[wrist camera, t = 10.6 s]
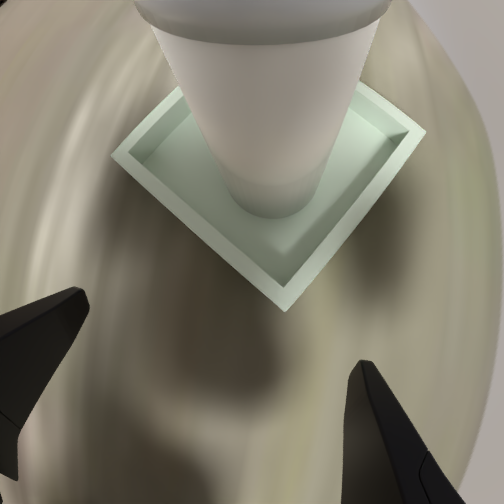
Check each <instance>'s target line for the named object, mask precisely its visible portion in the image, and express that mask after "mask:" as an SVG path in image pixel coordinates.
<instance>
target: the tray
mask: <svg viewBox="0 0 504 504" xmlns="http://www.w3.org/2000/svg"><path fill="white" fill-rule="evenodd" d="M425 133H426V131H425V130H424V129H422V128H421V127H420V126H419V125H418V124H416V123H415V122H414V121H413V120H412V119H410V118H409V117H408V116H407V115H405V114H404V113H403V112H402V111H400V110H399V109H398V108H396V107H395V106H394V105H393V104H391V103H390V102H389V101H387V100H386V99H385V98H383V97H382V96H381V95H379V94H378V93H376V92H375V91H374V90H372V89H371V88H369V87H368V86H367V85H365V84H364V83H362V82H361V81H359V80H358V83H357V86H356V89H355V91H354V94H353V97H352V99H351V102H350V105H349V107H348V110H347V113H346V115H345V118H344V121H343V123H342V126H341V129H340V131H339V134H338V137H337V139H336V142H335V144H334V147H333V149H332V152H331V155H330V157H329V160H328V162H327V165H326V167H325V170H324V172H323V175H322V177H321V180H320V182H319V185H318V187H317V190H316V192H315V194H314V196H313V198H312V199H311V201H310V202H309V203H308V204H307V205H306V206H305V207H304V208H303V209H301V210H300V211H298V212H297V213H295V214H293V215H290V216H287V217H283V218H277V219H268V218H262V217H258V216H255V215H252V214H250V213H248V212H247V211H245V210H244V209H242V208H241V207H240V206H239V205H238V204H237V203H236V202H235V201H234V199H233V198H232V196H231V195H230V193H229V191H228V189H227V186H226V184H225V182H224V180H223V178H222V176H221V174H220V171H219V169H218V167H217V165H216V163H215V161H214V159H213V157H212V154H211V152H210V150H209V148H208V146H207V144H206V142H205V140H204V137H203V135H202V133H201V131H200V129H199V127H198V125H197V123H196V120H195V118H194V116H193V114H192V112H191V110H190V108H189V106H188V103H187V101H186V99H185V97H184V95H183V93H182V91H181V89H180V87H179V86H178V87H177V88H176V89H174V90H173V91H172V92H171V93H170V94H169V95H168V96H167V97H166V98H165V99H164V100H163V101H162V102H161V103H160V104H159V105H158V106H157V107H156V108H155V109H154V110H153V111H152V112H151V113H150V114H149V115H148V116H147V117H146V118H145V119H144V120H143V121H142V122H141V123H140V124H139V125H138V126H137V127H136V128H135V129H134V130H133V131H132V132H131V133H130V134H129V135H128V137H127V138H126V139H125V140H124V141H123V142H122V143H121V144H120V145H119V146H118V148H117V149H116V150H115V151H114V152H113V153H112V154H111V155H110V156H111V157H112V158H113V159H114V160H115V161H116V162H117V163H118V164H119V165H120V166H122V167H123V168H124V169H125V170H126V171H127V172H128V173H129V174H130V175H131V176H132V177H133V178H135V179H136V180H137V181H138V182H139V183H140V184H141V185H142V186H143V187H144V188H145V189H146V190H148V191H149V192H150V193H151V194H152V195H153V196H154V197H155V198H156V199H157V200H159V201H160V202H161V203H162V204H163V205H164V206H165V207H166V208H167V209H168V210H170V211H171V212H172V213H173V214H174V215H175V216H176V217H177V218H178V219H179V220H181V221H182V222H183V223H184V224H185V225H186V226H187V227H188V228H189V229H191V230H192V231H193V232H194V233H195V234H196V235H197V236H198V237H200V238H201V239H202V240H203V241H204V242H205V243H206V244H207V245H209V246H210V247H211V248H212V249H213V250H214V251H215V252H216V253H218V254H219V255H220V256H221V257H222V258H223V259H224V260H225V261H227V262H228V263H229V264H230V265H231V266H232V267H233V268H235V269H236V270H237V271H238V272H239V273H240V274H241V275H243V276H244V277H245V278H246V279H247V280H248V281H249V282H251V283H252V284H253V285H254V286H255V287H256V288H257V289H259V290H260V291H261V292H262V293H263V294H264V295H265V296H267V297H268V298H269V299H270V300H271V301H272V302H274V303H275V304H276V305H277V306H278V307H279V308H281V309H282V310H283V311H284V312H286V311H287V310H288V309H289V308H290V306H291V305H292V304H293V303H294V302H295V301H296V299H297V298H298V297H299V296H300V295H301V294H302V292H303V291H304V290H305V289H306V288H307V287H308V285H309V284H310V283H311V282H312V281H313V279H314V278H315V277H316V276H317V275H318V273H319V272H320V271H321V270H322V269H323V267H324V266H325V265H326V264H327V263H328V261H329V260H330V259H331V258H332V256H333V255H334V254H335V253H336V252H337V250H338V249H339V248H340V247H341V245H342V244H343V243H344V242H345V240H346V239H347V238H348V237H349V235H350V234H351V233H352V232H353V230H354V229H355V228H356V226H357V225H358V224H359V223H360V221H361V220H362V219H363V218H364V216H365V215H366V214H367V212H368V211H369V210H370V208H371V207H372V206H373V205H374V203H375V202H376V201H377V199H378V198H379V197H380V195H381V194H382V193H383V191H384V190H385V189H386V187H387V186H388V185H389V183H390V182H391V181H392V179H393V178H394V177H395V175H396V174H397V172H398V171H399V170H400V168H401V167H402V166H403V164H404V163H405V161H406V160H407V159H408V157H409V156H410V155H411V153H412V152H413V150H414V149H415V147H416V146H417V145H418V143H419V142H420V140H421V139H422V137H423V136H424V135H425Z"/></svg>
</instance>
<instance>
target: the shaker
mask: <svg viewBox="0 0 504 504" xmlns="http://www.w3.org/2000/svg"><path fill="white" fill-rule="evenodd" d="M391 1H392V0H133V2H134V4H135V6H136V8H137V10H138V12H139V13H140V15H141V16H142V17H143V18H144V19H145V20H146V21H147V22H148V23H149V24H150V26H151V28H152V30H153V32H154V34H155V36H156V38H157V40H158V42H159V44H160V47H161V49H162V51H163V53H164V55H165V57H166V59H167V61H168V63H169V66H170V68H171V70H172V72H173V74H174V76H175V78H176V80H177V82H178V84H179V87H180V89H181V91H182V93H183V95H184V97H185V99H186V101H187V103H188V106H189V108H190V110H191V112H192V114H193V116H194V118H195V120H196V123H197V125H198V127H199V129H200V131H201V133H202V135H203V137H204V140H205V142H206V144H207V146H208V148H209V150H210V152H211V154H212V157H213V159H214V161H215V163H216V165H217V167H218V169H219V171H220V174H221V176H222V178H223V180H224V182H225V184H226V186H227V189H228V191H229V193H230V195H231V196H232V198H233V199H234V201H235V202H236V203H237V204H238V205H239V206H240V207H241V208H242V209H244V210H245V211H247V212H248V213H250V214H252V215H255V216H258V217H262V218H268V219H277V218H283V217H287V216H290V215H293V214H295V213H297V212H298V211H300V210H301V209H303V208H304V207H305V206H306V205H307V204H308V203H309V202H310V201H311V199H312V198H313V196H314V194H315V192H316V190H317V187H318V185H319V182H320V180H321V177H322V175H323V172H324V170H325V167H326V165H327V162H328V160H329V157H330V155H331V152H332V149H333V147H334V144H335V142H336V139H337V137H338V134H339V131H340V129H341V126H342V123H343V121H344V118H345V115H346V113H347V110H348V107H349V105H350V102H351V99H352V97H353V94H354V91H355V89H356V86H357V83H358V80H359V78H360V75H361V72H362V69H363V66H364V64H365V61H366V58H367V55H368V52H369V50H370V47H371V44H372V41H373V38H374V35H375V32H376V29H377V26H378V23H379V20H380V18H381V16H382V15H383V14H384V13H385V12H386V11H387V9H388V8H389V6H390V4H391Z"/></svg>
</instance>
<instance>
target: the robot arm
mask: <svg viewBox="0 0 504 504" xmlns="http://www.w3.org/2000/svg"><path fill="white" fill-rule="evenodd" d="M89 309H90V305H89V302H88V299H87V296H86V294H85V291H84V290H83V289H81V288H78V287H71V288H68V289H65V290H63V291H60V292H58V293H55V294H53V295H50V296H47V297H45V298H42V299H40V300H37V301H35V302H32V303H30V304H27V305H25V306H22V307H20V308H17V309H15V310H12V311H10V312H7V313H5V314H2V315H0V473H1V474H3V475H5V476H7V477H9V478H11V479H13V480H15V481H18V449H17V443H18V437H19V434H20V431H21V429H22V428H23V426H24V424H25V422H26V420H27V419H28V417H29V415H30V413H31V411H32V410H33V408H34V406H35V404H36V403H37V401H38V399H39V397H40V396H41V394H42V392H43V391H44V389H45V387H46V386H47V384H48V382H49V381H50V379H51V377H52V376H53V374H54V372H55V371H56V369H57V368H58V366H59V364H60V363H61V361H62V360H63V358H64V357H65V355H66V353H67V352H68V350H69V349H70V347H71V345H72V344H73V342H74V340H75V338H76V336H77V334H78V332H79V330H80V328H81V326H82V325H83V323H84V321H85V319H86V317H87V315H88V313H89ZM2 502H3V500H2V497H1V494H0V504H2ZM341 504H466V503H465V502H464V501H463V500H462V498H461V497H460V495H459V494H458V493H457V491H456V490H455V489H454V487H453V486H452V485H451V483H450V482H449V480H448V479H447V477H446V476H445V475H444V473H443V472H442V470H441V469H440V467H439V465H438V464H437V462H436V461H435V459H434V457H433V456H432V454H431V453H430V451H428V448H427V447H426V445H425V443H424V442H423V440H422V438H421V437H420V435H419V434H418V432H417V430H416V429H415V427H414V426H413V424H412V422H411V421H410V419H409V418H408V416H407V414H406V413H405V411H404V410H403V408H402V406H401V405H400V403H399V402H398V400H397V399H396V397H395V395H394V394H393V392H392V391H391V389H390V388H389V386H388V385H387V383H386V381H385V380H384V378H383V377H382V375H381V374H380V372H379V371H378V369H377V368H376V366H375V365H374V363H373V362H372V361H368V360H359V361H358V363H357V364H356V366H355V367H354V369H353V370H352V372H351V373H350V375H349V379H348V387H347V396H346V405H345V413H344V426H343V474H342V495H341Z"/></svg>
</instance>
